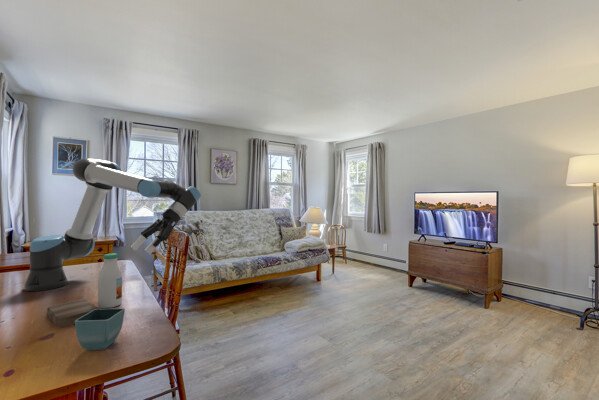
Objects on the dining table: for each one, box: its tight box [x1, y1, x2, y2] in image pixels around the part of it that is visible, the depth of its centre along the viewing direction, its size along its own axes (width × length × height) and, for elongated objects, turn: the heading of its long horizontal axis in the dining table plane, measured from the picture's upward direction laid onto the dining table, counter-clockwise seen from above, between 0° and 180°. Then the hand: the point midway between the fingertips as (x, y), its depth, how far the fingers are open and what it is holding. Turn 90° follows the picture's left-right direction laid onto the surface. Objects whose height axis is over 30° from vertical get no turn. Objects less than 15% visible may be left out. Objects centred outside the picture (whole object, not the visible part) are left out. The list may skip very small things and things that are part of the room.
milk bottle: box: [97, 252, 123, 309], centre depth 110 cm, size 8×8×20 cm
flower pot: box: [74, 307, 126, 351], centre depth 80 cm, size 9×9×9 cm
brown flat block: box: [46, 298, 100, 329], centre depth 100 cm, size 16×11×3 cm
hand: (139, 250), depth 119 cm, fingers open, 13 cm apart
